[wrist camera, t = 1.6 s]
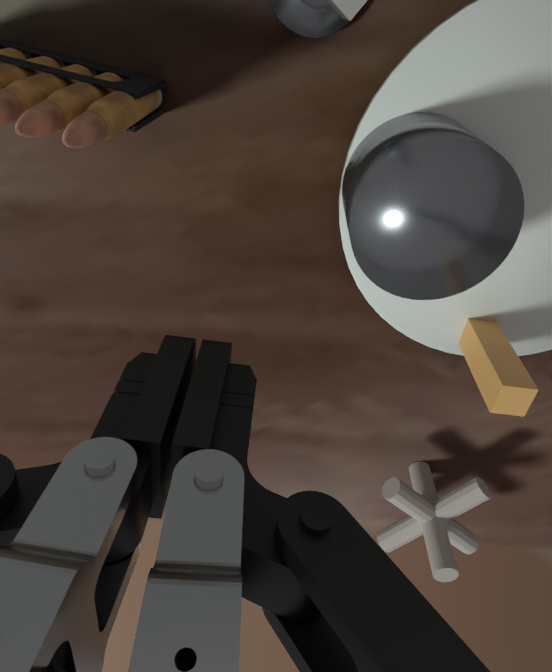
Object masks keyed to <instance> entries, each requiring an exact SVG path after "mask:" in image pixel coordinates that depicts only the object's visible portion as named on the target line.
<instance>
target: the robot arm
mask: <svg viewBox="0 0 552 672" xmlns="http://www.w3.org/2000/svg"><path fill="white" fill-rule="evenodd" d="M231 352H232V343H227V342H219V341H211V340H203V341H202V343H201V347H200V350H199V353H198V357H197V360H196V339H194V338H186V337H178V336H170V335H166V336H165V337H164V339H163V342H162V344H161V347H160V349H159V351H158V354H152V353H144V352H141V353H140V354H139V355H138V356H136V357H135V358H134V359H133V360H131V361H130V362H129V363H128V364H127V365H126V367H125V369H124V371H123V373H122V375H121V377H120V381H119V382H118V383H117V385H116V387H115V389H114V394H112V396H111V398H110V400H109V402H108V404H107V406H106V408H105V410H104V412H103V414H102V416H101V418H100V420H99V422H98V424H97V426H96V428H95V430H94V432H93V435H92V437H91V439H90V440H87V441H84V442H82V443H80V444H78V445H77V446H75V447H74V448H73V449H71V450H70V451H69V452H68V454H67V455H66V456H65V458H64V459H63V461H62V462H59V463H56V464H52V465H47V466H40V467H33V468H26V469H19V470H15V468H14V465H13V463H12V462H11V460H10V459H8V458H7V457H6V456H4V455H2V454H0V672H102V668H103V662H104V655H105V649H106V645H107V642H108V638H109V635H110V632H111V630H112V627H113V624H114V622H115V619H116V616H117V613H118V611H119V608H120V605H121V602H122V599H123V597H124V594H125V592H126V589H127V586H128V584H129V581H130V578H131V575H132V573H133V570H134V567H135V564H136V562H137V559H138V556H139V554H140V550H141V539H142V537H143V534H144V530H145V526H146V524H147V520H148V517H151V518H160V519H161V517H162V514H163V510H164V507H165V503H166V499H167V496H168V500H167V505H166V510H165V515H164V520H163V526H162V531H161V536H160V541H159V546H158V551H157V556H156V561H155V565H154V567H153V568H151V569H150V572H149V575H148V579H147V583H146V587H145V592H144V597H143V602H142V607H141V612H140V616H139V622H138V626H137V631H136V636H135V641H134V646H133V651H132V656H131V661H130V666H129V670H128V672H239V649H240V625H241V624H240V623H241V600H242V597H243V598H245V599H247V600H249V601H251V602H253V603H255V604H257V605H259V606H261V607H262V609H263V612H264V615H265V617H266V618H267V620H268V621H269V623H270V625H271V626H272V628H273V630H274V631H275V633H276V634H277V636H278V638H279V639H280V641H281V642H282V644H283V646H284V647H285V649H286V651H287V652H288V653H289V655H290V657H291V658H292V660H293V661H294V663H295V665H296V666H297V668H298V670H299V671H300V672H490V671H489V670H488V669H487V668H486V666H485V665H484V664H483V663H482V662H481V661H480V660H479V659H478V657H477V656H476V655H475V654H474V653H473V652H472V651H471V649H470V648H469V647H468V646H467V645H466V644H465V643H464V642H463V640H462V639H461V638H460V637H459V636H458V635H457V634H456V633H455V631H454V630H453V629H452V628H451V627H450V626H449V625H448V624H447V622H446V621H445V620H444V619H443V618H442V617H441V616H440V614H439V613H438V612H437V611H436V610H435V609H434V608H433V607H432V606H431V604H430V603H429V602H428V601H427V600H426V599H425V598H424V596H423V595H422V594H421V593H420V592H419V591H418V590H417V589H416V587H415V586H414V585H413V584H412V583H411V582H410V581H409V580H408V578H407V577H406V576H405V575H404V574H403V573H402V572H401V571H400V569H399V568H398V567H397V566H396V565H395V564H394V563H393V561H391V559H390V558H389V557H388V556H387V555H386V554H385V552H384V551H383V550H382V549H381V548H380V547H379V546H378V545H377V544H376V542H375V541H374V540H373V539H372V538H371V537H370V535H369V534H368V533H367V532H366V531H365V530H364V529H363V528H362V526H361V525H360V524H359V523H358V522H357V521H356V520H355V519H354V517H353V516H352V515H351V514H350V513H349V512H348V511H347V510H346V508H345V507H344V506H343V505H342V504H341V503H340V502H339V501H337V500H336V499H335V498H333V497H331V496H329V495H327V494H324V493H321V492H317V491H303V492H298V493H296V494H293V495H291V496H290V497H288V498H285V497H283V496H280V495H278V494H276V493H273V492H271V491H269V490H267V489H266V488H264V487H263V486H261V485H260V484H259V483H258V482H257V481H256V480H255V479H254V478H253V476H252V475H251V473H250V471H249V468H248V464H247V454H248V446H249V437H250V429H251V421H252V413H253V405H254V397H255V389H256V381H257V380H256V378H255V375H254V373H253V371H252V369H251V367H250V366H249V365H241V364H233V363H231ZM195 363H196V364H195ZM169 488H170V490H169ZM168 492H169V495H168Z"/></svg>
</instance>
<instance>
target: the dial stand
mask: <svg viewBox="0 0 552 672" xmlns="http://www.w3.org/2000/svg"><path fill="white" fill-rule="evenodd" d="M367 1H368V0H270V3H271V6H272V8H273V10H274V12H275V14H276V15H277V17H278V18H279V19H280V21H281V22H282V23H283V24H284V25H285V26H286V27H287V28H288V29H290V30H291V31H293V32H295V33H297V34H299V35H302V36H305V37H310V38H319V37H325V36H328V35H331V34H333V33H335V32H337V31H339V30H340V29H342V28H343V27H344V26H345V25H347V24H348V23H349V22H350V21H351V20H352V19H353V17H354V16H355V15H356V14H357V13H358V11H359V10H360V9H361V8H362V7H363V5H364V4H365V3H366V2H367Z"/></svg>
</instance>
